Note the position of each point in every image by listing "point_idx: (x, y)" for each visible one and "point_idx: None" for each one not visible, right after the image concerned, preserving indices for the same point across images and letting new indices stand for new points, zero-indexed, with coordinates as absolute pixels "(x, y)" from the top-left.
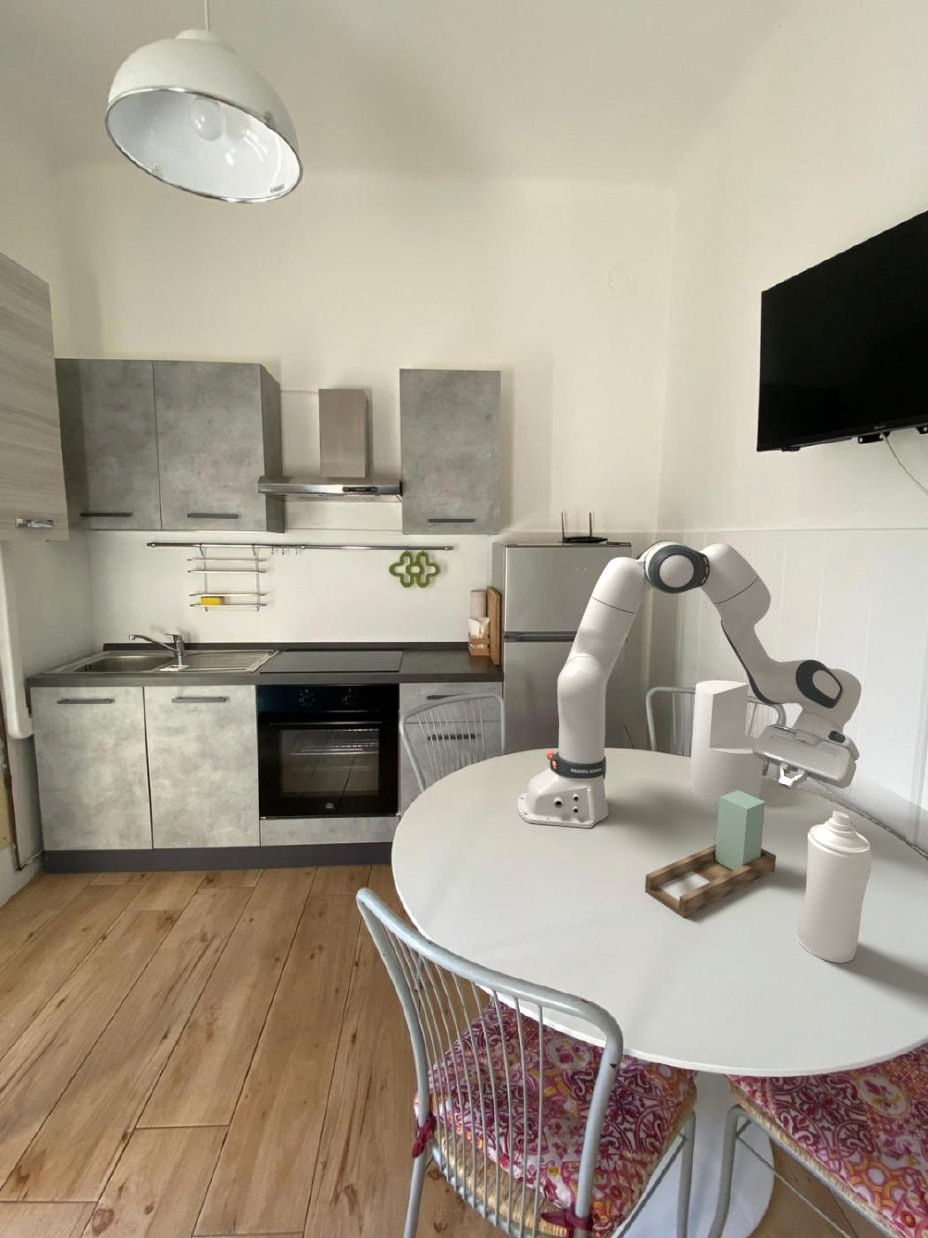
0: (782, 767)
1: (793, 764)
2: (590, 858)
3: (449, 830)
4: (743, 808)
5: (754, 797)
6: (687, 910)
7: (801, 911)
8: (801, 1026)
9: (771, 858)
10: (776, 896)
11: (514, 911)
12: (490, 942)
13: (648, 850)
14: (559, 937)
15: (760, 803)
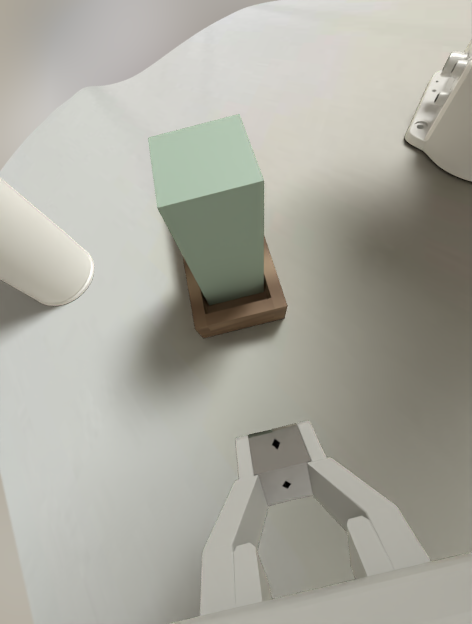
0: (375, 516)
1: (310, 600)
2: (317, 120)
3: (417, 16)
4: (160, 137)
5: (195, 195)
6: None
7: (40, 211)
8: (24, 179)
9: (192, 313)
10: (153, 289)
11: (244, 49)
12: (213, 34)
13: (320, 189)
14: (197, 70)
15: (155, 187)
